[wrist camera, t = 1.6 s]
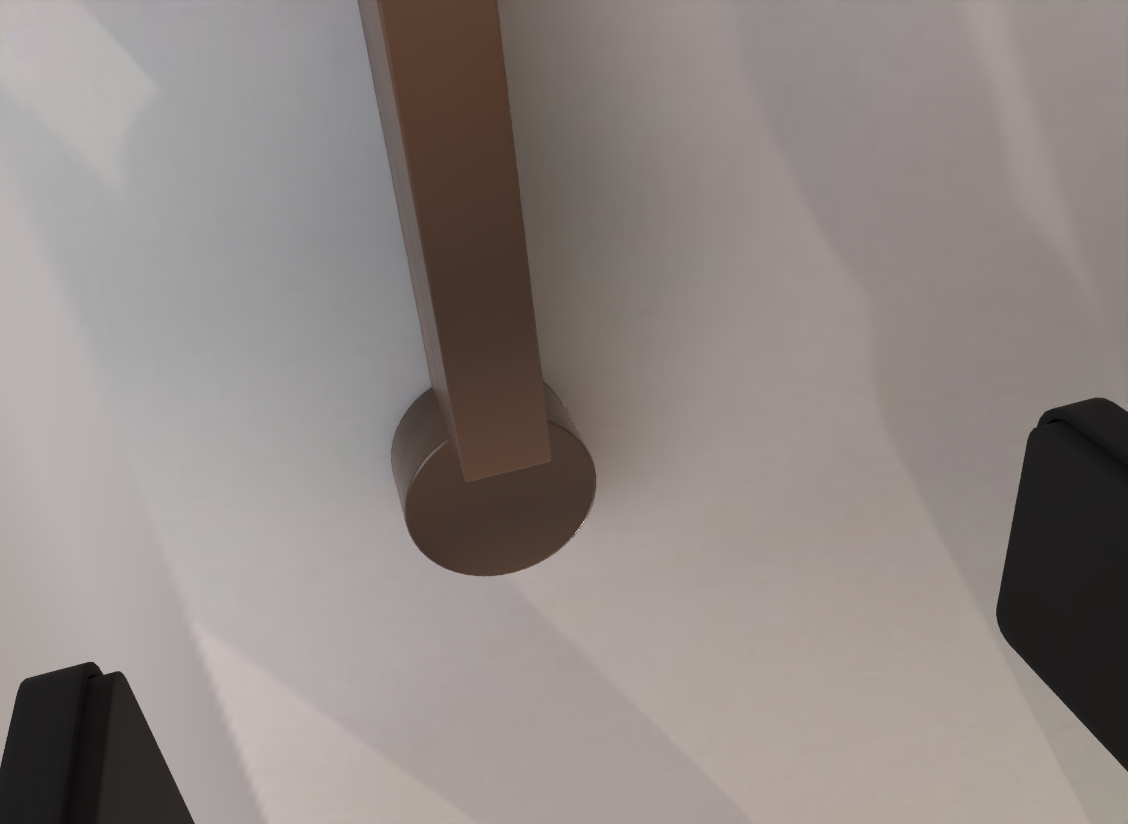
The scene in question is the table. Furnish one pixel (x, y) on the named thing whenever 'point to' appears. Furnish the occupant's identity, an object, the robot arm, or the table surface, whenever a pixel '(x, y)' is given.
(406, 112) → the ladle
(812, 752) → the table surface
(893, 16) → the table surface
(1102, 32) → the table surface
